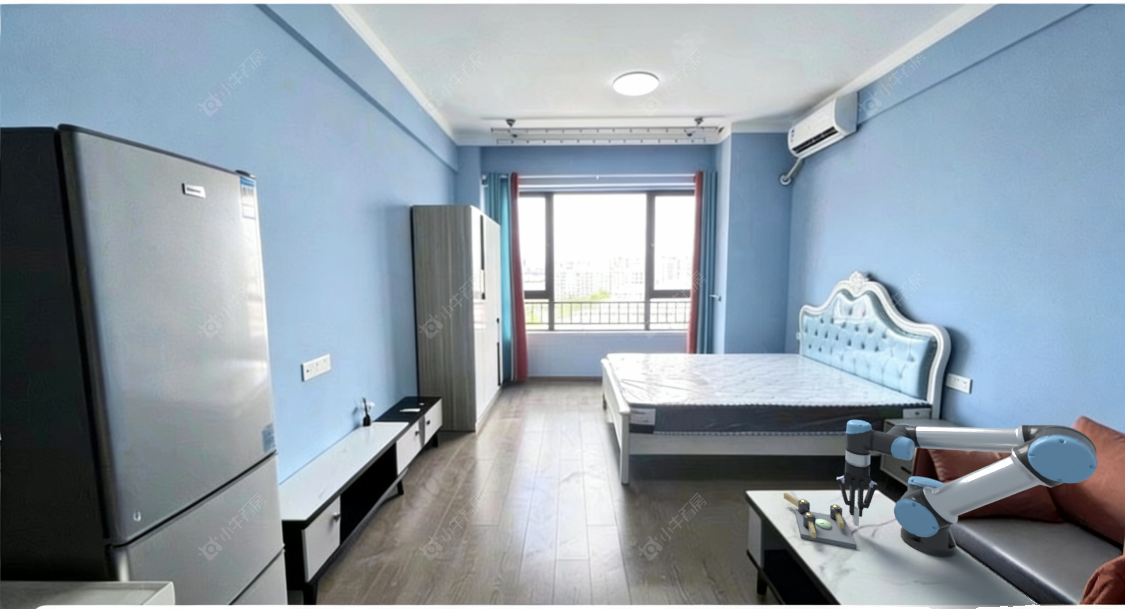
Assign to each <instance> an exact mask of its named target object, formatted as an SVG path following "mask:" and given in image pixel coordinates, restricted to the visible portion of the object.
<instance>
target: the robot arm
mask: <svg viewBox="0 0 1125 609" xmlns="http://www.w3.org/2000/svg"><path fill="white" fill-rule="evenodd" d="M845 430H846V431H845V462H844V463H845V464H844V473H843V475H842V476H836V477H835V478H836V481H837V483H838V484H839V487H840V492H841V495H842V496H841V497H842V499H843V502H844V504H845V505H846V506H849V507H848V508H849V509H848V510H849V515H850V516H852V517H851V518H852V519H851V523H852V524H853V526H857V527H859V525H860V518H862V517H863V511H864V509H869V507H870V505H871V503H872V500H873V497H874V495H875V491H876V490H877V489H879V485H878V483H877V482H876V481H873V480H872V478H871V477H870V476H871V475H870V474H871V466H870V465H871V452H873V453H877V454H880V455H884V456H887V457H891V458H895V459H898V460H905V461H911V460H912V459H913V457H914V454H915V449H931V450H932V449H935V450H936V449H937V450H952V451H968V452H969V451H970V452H971V451H972V452H988V453H1003V454H1004V453H1005V454H1006V453H1008V454H1009V453H1010V455H1009V456H1007V457H1005V458H1003V459H1000V460H998V461H995V462H993V463H991V464H989V465H986V466H984V467H982V468H980V469H977V470H975V471H973V472H970V473H968V474H965V475H964V476H961V477H958V478H956V479H954V480H951V481H950V482H948V483H944V482H942V481H939V480H936V479H933V478H929V477H924V476H916V475H915V476H910V477H909V478H908V481H907V491H905V492H904V494H903V495H902V496H901V497H900V499H898V500H897V501H896V502H895V505H894V507H893V513H894V514H893V515H894V517H895V520H896V521H897V523H898V524H899V525H900V526H901V528H900V538H901V539H902V541H903V542H905V543H906V544H907V545H908V546H910V547H912V548H913V549H915V550H918V551H920V552H923V553H925V554H928V555H932V556H936V557H947V558H948V557H953V556H954V555H956V553H957V543H956V541H955V538H954V535H953V532H952V530H951V525H953V524H956V523H958V519H959V516H961V515H963V514H965V513H969V512H971V511H973V510H976V509H979V508H981V507H983V506H986V505H989V504H992V503H994V502H997V501H999V500H1003V499H1005V498H1008V497H1011V496H1013V495H1015V494H1018V493H1021V492H1023V491H1026V490H1029V489H1031V488H1034V487H1037V486H1040V485H1041V486H1044V487H1048V488H1054V487H1056V486H1059V485H1062V484H1077V483H1082V482H1084V481H1086V480H1088V479H1089V478H1090V477H1091V476H1093V475H1094V473H1095V472H1096V470H1097V468H1098V459H1097V448H1096V445H1095V443H1094V442H1093V440H1092V439H1091V438H1090V437H1089V436H1088V435H1086V434H1085V433H1083V432H1082V431H1080V430H1078V429H1076V428H1073V427H1070V426H1066V425H1058V424H1051V425H1050V424H1031V425H1030V424H1021V425H1019V426H1018V427H1017V428H1014V427H975V426H973V427H971V426H970V427H969V426H966V427H965V426H961V427H960V426H918V425H917V426H915V425H910V424H908V423H899V424H898V423H897V424H896V425H894V426H893V427H892V428H890V429H889V430H888V431H887V432H882V431H879V430H875V429H873V428H872V424H870V422H867V421H865V420H861V419H850V420H848V421H847V423H846V429H845ZM845 481H846V482H847V483H848V485H849V497H848V495H847V490H846V487H845ZM868 485H869V486H868ZM867 486H868V488H867V492H866V494H865V497H864V493H865V488H866V487H867ZM856 490H857V505H856V503H855V502H856Z"/></svg>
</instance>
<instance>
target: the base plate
mask: <svg viewBox="0 0 1125 609" xmlns="http://www.w3.org/2000/svg"><path fill="white" fill-rule="evenodd" d="M810 513H812V514H813V515H814V516H815V517H816V522H815V532H816V538H811V535H810V532H809V529H807V528H805V527H804V526H803V514H801V513H799V512H798V509H797V508H794V516H795V519H796V523H797V527H798V531H799V536H800V538H801V539H805V540H811V541H813V542H814V541H815V542H819V543H820V542H821V543H825V544H830V545H834V546H840V547H845V548H849V549H850V548H851V549H856V545H857V544H856V542H855V539H854V537H853V534H852V533H851V530H850V527H849V525H848V524H847V521H846V519H845V517H844V516H842V520H843V522H844V529H841V528H839V526H838V524H837V521H836V520H833V519H832V518H831V517H830V514H827V513H822V512H815V511H811V510H810Z"/></svg>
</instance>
